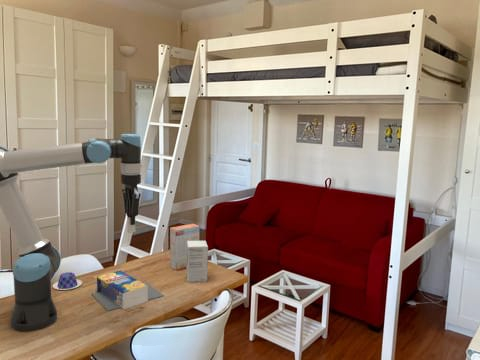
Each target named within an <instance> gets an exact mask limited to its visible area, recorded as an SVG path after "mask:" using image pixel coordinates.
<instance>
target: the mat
mask: <svg viewBox="0 0 480 360" xmlns="http://www.w3.org/2000/svg"><path fill="white" fill-rule="evenodd" d="M141 282H142V283H144V284H146V285H148V301H151V300H154V299H155V300H156V299H159V298H162V297H165V295H164V294H163V293H161V292H160V291H159V290H158V289H156V288H155V287H153V285H151V284H150V283H148V282H147V281H141ZM91 296H92V297H93V298H94V299H95V300H96V301H97V302H98V303H99V304H100V305H101V306H102V307H103V308H104V309H105V311H106V312H110V311H114V310H119V309H122V308H121V306H119V305H118V304H116V303H115V302H113V301H112V300H110V299H109V298H108V297H106V296H105V295H103V294H102V293H100V292H94V293H91Z"/></svg>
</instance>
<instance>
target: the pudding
mask: <svg viewBox="0 0 480 360" xmlns="http://www.w3.org/2000/svg"><path fill="white" fill-rule="evenodd" d="M82 284H83V281H82V280H80V279H77V278H76V274H75V273H73V272H72V271H70V272H63V273H61V274H60V275H59V278H58V281H56V282H54V283H53V284H52V288H53V289H55V290H61V291H65V290H66V291H67V290H73V289H76V288H78V287H80V286H82ZM59 288H60V289H59ZM62 288H63V289H62ZM67 288H68V289H67Z"/></svg>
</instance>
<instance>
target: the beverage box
mask: <svg viewBox="0 0 480 360" xmlns="http://www.w3.org/2000/svg"><path fill="white" fill-rule="evenodd" d="M142 282H143V281H140V279H139V280H138V279H137V278H134V277H133V276H131V275H130V274H127V273H126V272H124V271H122V270H117V271H113V272H109V273H105V274H102V275H97V276H96V290H97V292H96V293H98V292H100V293H102V294H103V295H105V296H106V297H108V298H109V299H110V300H112V301H113V302H115V303H116V304H118V305H119V306H121V308H120V309H122V310H126V309H130V308H133V307H135V306H139V305H142V304H143V303H146V302H148V301H149V300H148V285H146V284H144V283H142Z"/></svg>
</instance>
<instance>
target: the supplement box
mask: <svg viewBox="0 0 480 360" xmlns="http://www.w3.org/2000/svg"><path fill="white" fill-rule="evenodd" d="M208 253H209V246H208V244H207V241H206V240H199V241H187V268H186V272H185V273H186V280H187V282H189V283H191V282H192V283H193V282H196V281H197V282H208V257H209V256H208V255H209V254H208Z"/></svg>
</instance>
